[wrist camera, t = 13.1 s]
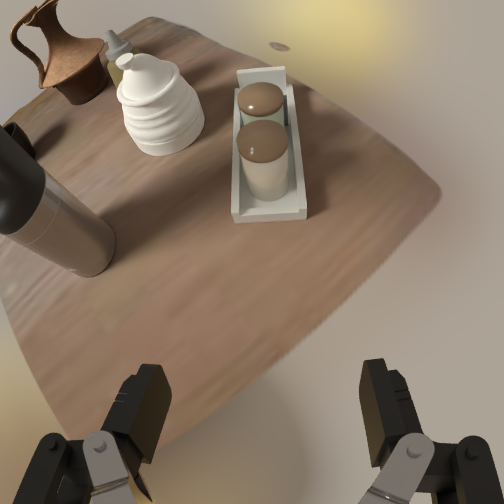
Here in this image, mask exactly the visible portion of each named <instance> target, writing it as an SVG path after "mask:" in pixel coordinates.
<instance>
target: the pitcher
mask: <svg viewBox="0 0 504 504" xmlns="http://www.w3.org/2000/svg"><path fill="white" fill-rule="evenodd" d="M57 3H58V0H46V1H45V2H44V3H43V4H42V5H41V6H40V7H39V8H37V7H36V6H34V7H33V8H31V9H30V10H29V11H28V12H27V13H26V14H25V15H24V16H23V17H22V18H21V19H19V20H18V21H17V22H16V23H15V25H14V26H13V27H12V29H11V33H10V40H11V42H12V44H13V45H14V47H15V48H16V49H18V50H19V51H20V52H22V53H23V54H24V55H26V56H27V57H28V58H29V59H31V60H32V61H33V62H34V63H35V64H36V66H37V67H38V70H39V88H40V89H44V88H48V87H51V86H52V87H53V88H55V87H56V88H57V89H58V90H59V91H60V92H62V93H63V94H64V95H65V97H66V98H67V99H68V100H69V101H70V103H71V104H73V105H80V104H83V103H85V102H87V101H89V100H91V99H92V98H94V97H95V96H96V95H98V94H99V93H100V92H101V91H102V90H103V89H104V87H105V86H106V84H107V82H108V77H107V76H106V74H105V71H104V69H103V67H102V64H101V61H100V58H99V53H100V51H101V50H102V48H103V46H104V40H102V39H100V38H90V39H83V38H76V37H74V36H71V35H70V34H68V33H67V32H66V31H65V30H64V29H63V28H62V27H61V25H60V23H59V21H58V19H57V15H56V6H57ZM23 23H24V24H25V25H27V26H34V27H40V28H41V30H42V32H43V33H44V35H45V37H46V39H47V42H48V45H49V55H48V60H47V63H46V65H45V68H44V66H43V64H42V62H41V60H40V59H39V58H38V57H37V56H36V54H35V53H34V52H32V51H31V50H29V49H28V48H27V47H26V46H24V45H23V44H22V43H21V42H20V41H19V40H18V39H17V31H18V29H19V28H20V26H21V25H22V24H23Z"/></svg>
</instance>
